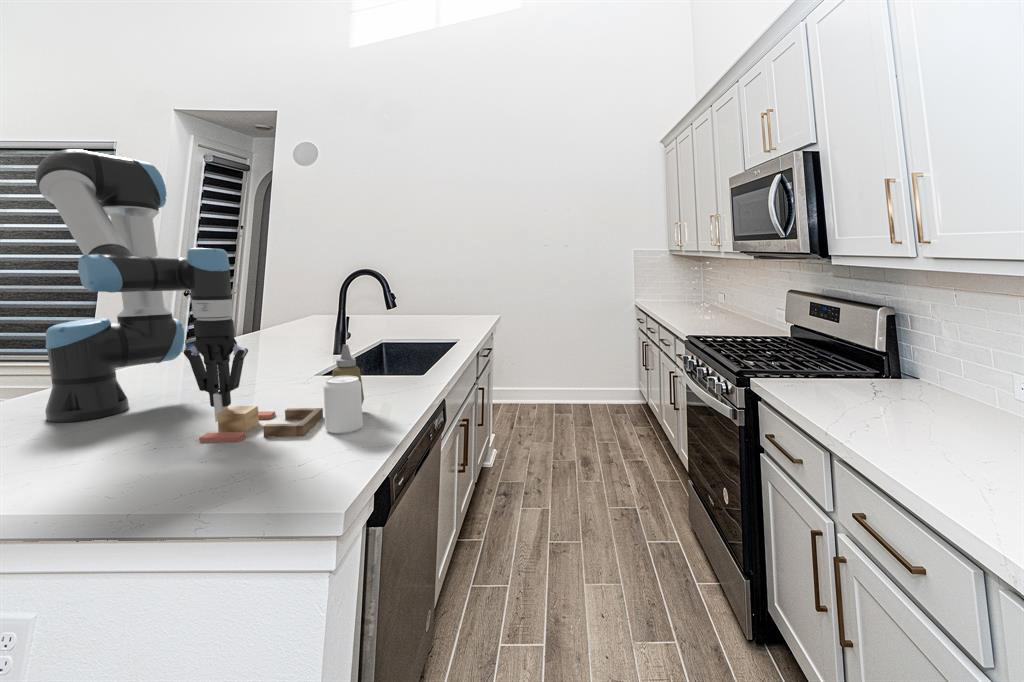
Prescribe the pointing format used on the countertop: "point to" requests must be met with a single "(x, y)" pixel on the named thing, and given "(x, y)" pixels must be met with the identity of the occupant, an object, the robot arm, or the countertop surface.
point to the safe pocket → (295, 430)
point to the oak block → (238, 419)
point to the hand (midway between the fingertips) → (222, 419)
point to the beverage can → (342, 404)
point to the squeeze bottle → (347, 367)
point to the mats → (233, 435)
